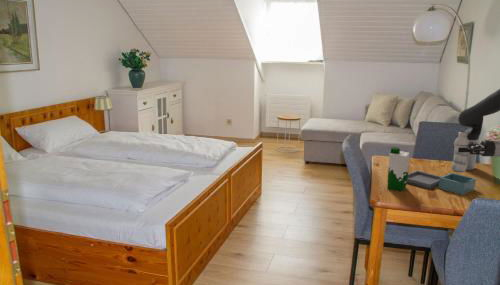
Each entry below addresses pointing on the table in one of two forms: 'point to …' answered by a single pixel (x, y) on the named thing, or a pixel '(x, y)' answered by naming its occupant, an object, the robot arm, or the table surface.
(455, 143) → the plastic bottle
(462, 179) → the teal open box
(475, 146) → the robot arm
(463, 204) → the table surface
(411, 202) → the table surface
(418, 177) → the tray
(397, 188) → the milk carton
